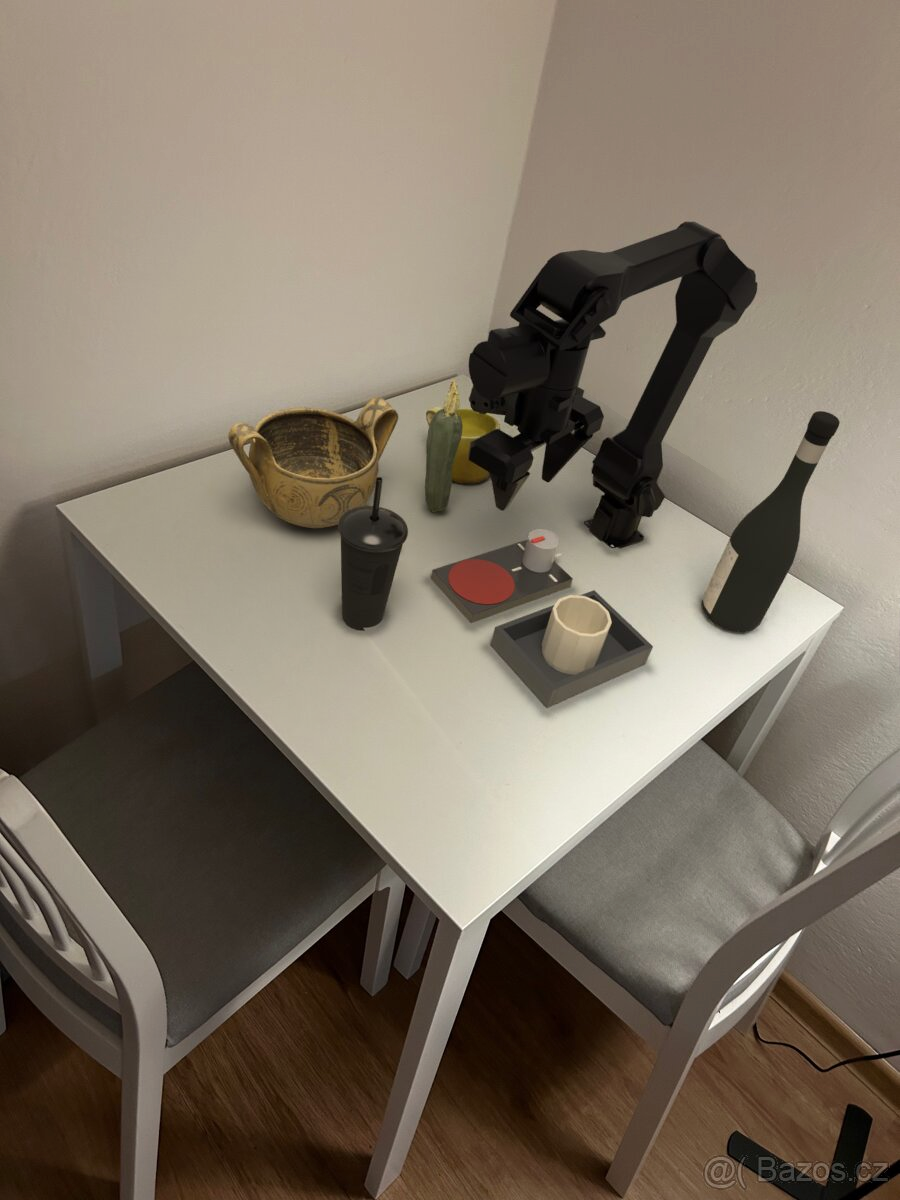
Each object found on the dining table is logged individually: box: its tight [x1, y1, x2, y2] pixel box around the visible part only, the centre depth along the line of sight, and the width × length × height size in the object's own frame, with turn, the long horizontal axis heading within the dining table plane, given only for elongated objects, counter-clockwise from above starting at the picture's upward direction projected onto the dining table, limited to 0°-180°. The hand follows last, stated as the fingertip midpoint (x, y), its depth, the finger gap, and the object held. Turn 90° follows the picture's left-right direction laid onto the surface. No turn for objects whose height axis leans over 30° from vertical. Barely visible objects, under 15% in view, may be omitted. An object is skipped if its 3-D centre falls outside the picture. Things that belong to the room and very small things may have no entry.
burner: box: [448, 559, 515, 605], centre depth 112 cm, size 8×8×1 cm
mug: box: [425, 405, 501, 485], centre depth 132 cm, size 12×10×10 cm
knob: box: [522, 528, 560, 573], centre depth 115 cm, size 4×4×4 cm
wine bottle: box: [701, 410, 841, 634], centre depth 108 cm, size 8×8×30 cm
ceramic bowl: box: [227, 396, 399, 529], centre depth 116 cm, size 22×17×15 cm
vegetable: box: [424, 379, 463, 513], centre depth 118 cm, size 4×4×20 cm
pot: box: [541, 594, 612, 675], centre depth 105 cm, size 7×7×6 cm
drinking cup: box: [337, 476, 409, 632], centre depth 100 cm, size 8×8×20 cm
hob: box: [430, 539, 574, 624], centre depth 115 cm, size 18×9×2 cm, turn 124°
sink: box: [489, 589, 654, 709], centre depth 106 cm, size 16×11×4 cm
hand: (523, 494), depth 107 cm, fingers open, 9 cm apart
